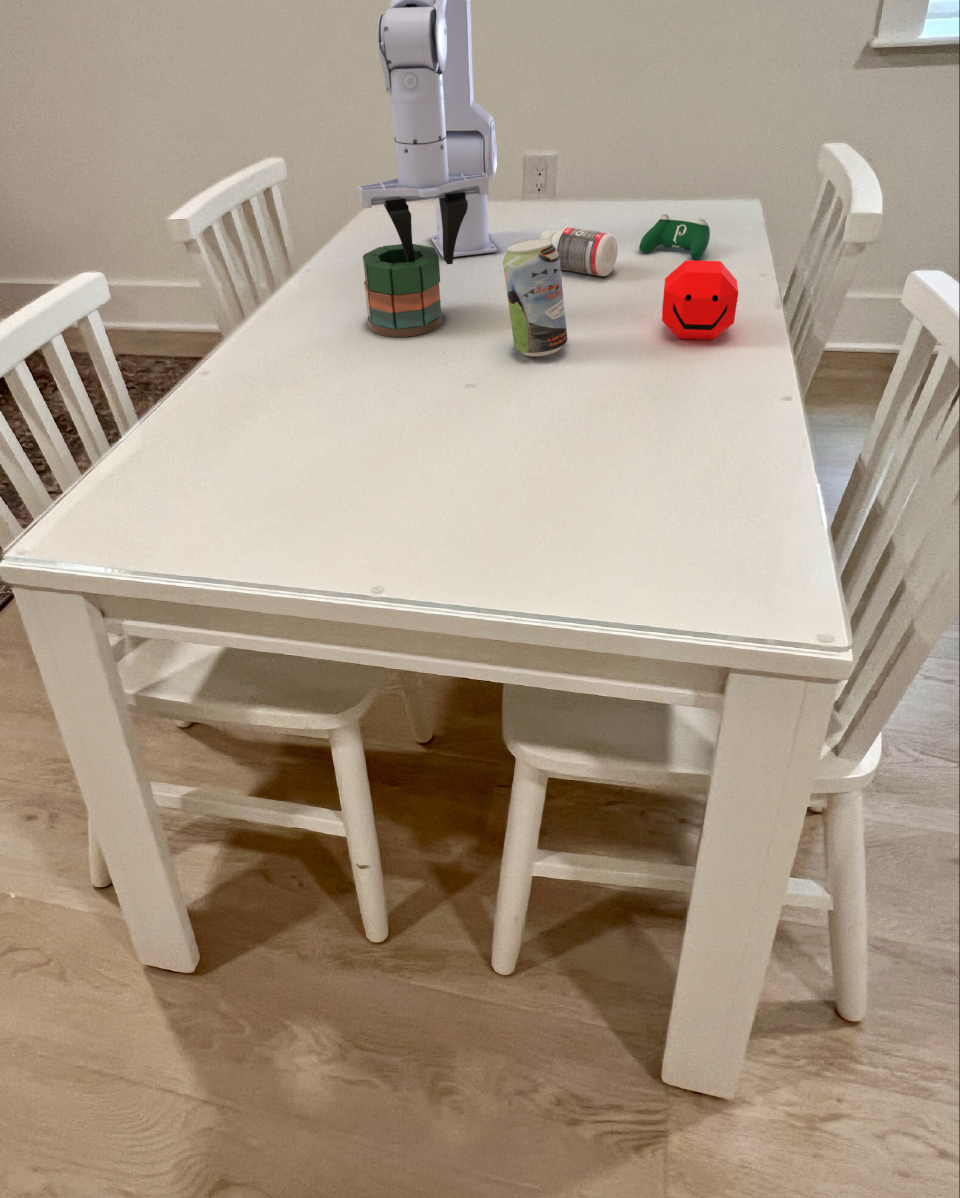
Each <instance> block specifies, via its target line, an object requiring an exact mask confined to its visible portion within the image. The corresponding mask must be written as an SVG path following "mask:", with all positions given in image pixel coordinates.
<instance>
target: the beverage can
mask: <svg viewBox="0 0 960 1198" xmlns="http://www.w3.org/2000/svg"><path fill="white" fill-rule="evenodd" d="M502 261H503V262H502V267H503V273H504V281H505V286H506V295H507V301H508V310H509V316H510V317H509V319H510V323H511V332H512V339H513V346H514V349H515V350H516V351H518V352H520V353H521V354H522V355H524V356H526V357H543V356H548V355H553V354H555V353H557V352H558V351H560V350H561V349H562V348H563V346H564V345H566V343H567V342H568V329H567V321H566V311H565V301H564V290H563V280H562V271H561V270H562V269H560V259H559V253H558V251H557V250H556V248H555V247H554V246H553V244H552V240H550V239H540V238H531V239H525V240H520V241H517V242H513V243H511V244H509V245H508V246H506V253H505V255H504V258H503V260H502Z"/></svg>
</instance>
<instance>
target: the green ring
mask: <svg viewBox="0 0 960 1198" xmlns="http://www.w3.org/2000/svg"><path fill="white" fill-rule="evenodd" d="M413 250H414V256H415V261H413V262H407V261H406V256H405V252H404V249H403V246H402V243H400V244H399V243H398V244H389V245H388V244H387V245H382V246H379V247H376V248H375V249H372V250H371V251H368V252H366V253H364V254H363V255H362V261H363V271H364V279H365V280H366V283H367V286H368V289H369V290H370V291H374V292H379V293H384V294H388V295H393V294H394V295H401V294H410V293H418V292H421V291H426V290H427V289H429V288H431V287H433V286H435V285H436V284H438V283H439V284H440V282H441V272H440V271H441V270H440V259H439V258H440V257H439V256H440V255H438V253H437V251H436V249H435V247H432V246H427V245H421V244H417V243H413ZM397 262H404V263H398V264H394V263H397ZM365 280H364V281H365Z"/></svg>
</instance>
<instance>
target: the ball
mask: <svg viewBox="0 0 960 1198" xmlns="http://www.w3.org/2000/svg"><path fill="white" fill-rule="evenodd" d="M738 286H739V285H738V280H737V278H736V277H735V276H734V275H733V274H732V273H731V271H730V270H729V269H728V268H727V267H726V266H725V265H724V263H723V262H722V261H721V260H696V261H695V260H690V259H689V260H688V259H687V260H684V261H683V262H682V263H680V265H678V267H676V268H675V269H674V270H672V272H671V273H670V274H669V275H667V276H666V277H665V278H664V287H663V296H662V297H663V298H662V306H661V322H662V323H663V324H664V326H666V327H667V328H668V329H669V331H671V333H672V334H673V335H674V336H675V337H676V338H677V339H678V340H699V341H713V340H715V339H716V338H717V337H718V336H720V335H721V334H722V333H724V332H725V331H726V330H727V329H728V328H730V327H731V326H732V325H733V324H735V318H736V312H737V306H738V305H737V304H738V297H739V287H738Z"/></svg>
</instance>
